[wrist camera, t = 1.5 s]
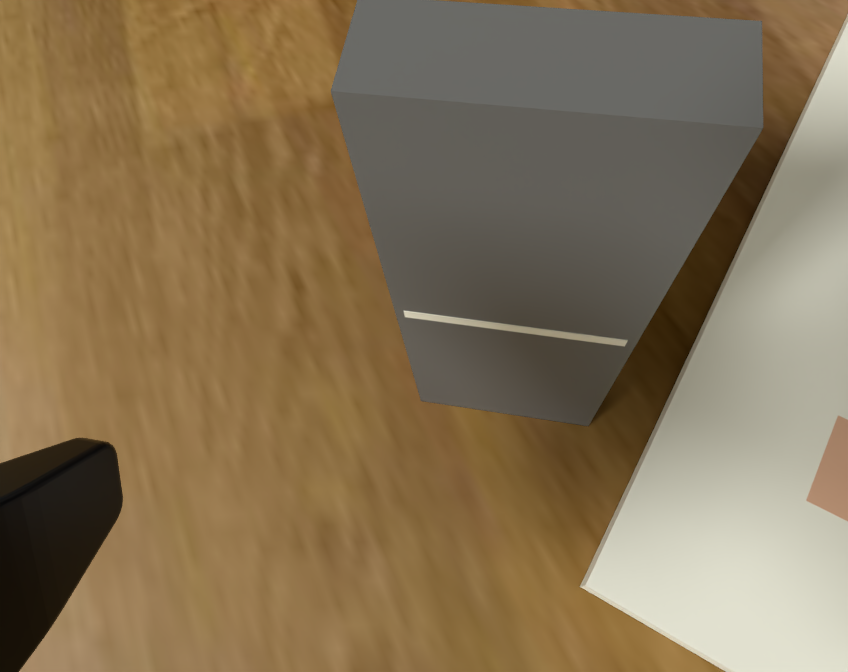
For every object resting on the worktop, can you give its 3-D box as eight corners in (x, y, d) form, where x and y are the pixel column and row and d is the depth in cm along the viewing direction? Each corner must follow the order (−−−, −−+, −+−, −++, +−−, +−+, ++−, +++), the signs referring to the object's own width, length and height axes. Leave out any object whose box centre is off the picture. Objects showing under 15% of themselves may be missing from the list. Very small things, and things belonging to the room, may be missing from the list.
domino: (588, 426, 19) (762, 129, 7) (421, 401, 20) (330, 92, 8) (593, 374, 20) (762, 19, 8) (430, 351, 21) (358, -6, 9)
